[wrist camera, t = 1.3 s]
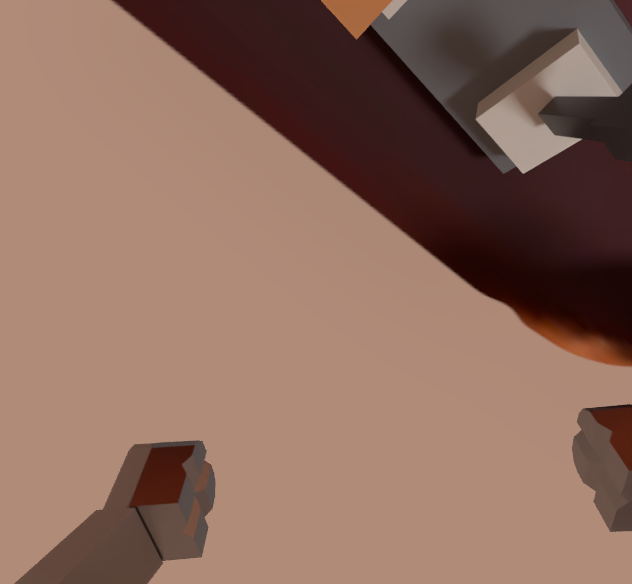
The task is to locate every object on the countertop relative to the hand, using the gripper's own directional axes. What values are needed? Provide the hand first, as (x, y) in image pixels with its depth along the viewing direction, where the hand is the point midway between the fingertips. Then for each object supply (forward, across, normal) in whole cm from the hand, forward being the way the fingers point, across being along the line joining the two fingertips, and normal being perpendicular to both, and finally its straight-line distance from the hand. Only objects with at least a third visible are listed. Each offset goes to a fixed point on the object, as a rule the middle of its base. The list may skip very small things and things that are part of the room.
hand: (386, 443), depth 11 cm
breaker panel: (+40, +13, +7) cm, 43 cm away
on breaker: (+33, +17, -2) cm, 37 cm away
